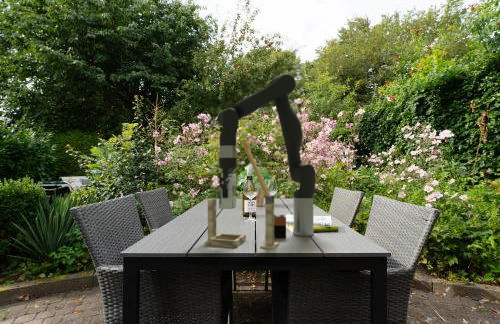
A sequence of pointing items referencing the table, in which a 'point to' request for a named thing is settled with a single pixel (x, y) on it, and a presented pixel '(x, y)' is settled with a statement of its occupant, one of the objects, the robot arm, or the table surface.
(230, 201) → the syrup box
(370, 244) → the table surface
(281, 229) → the battery
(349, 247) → the table surface
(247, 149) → the tan wooden bar
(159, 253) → the table surface
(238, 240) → the clamp rig
